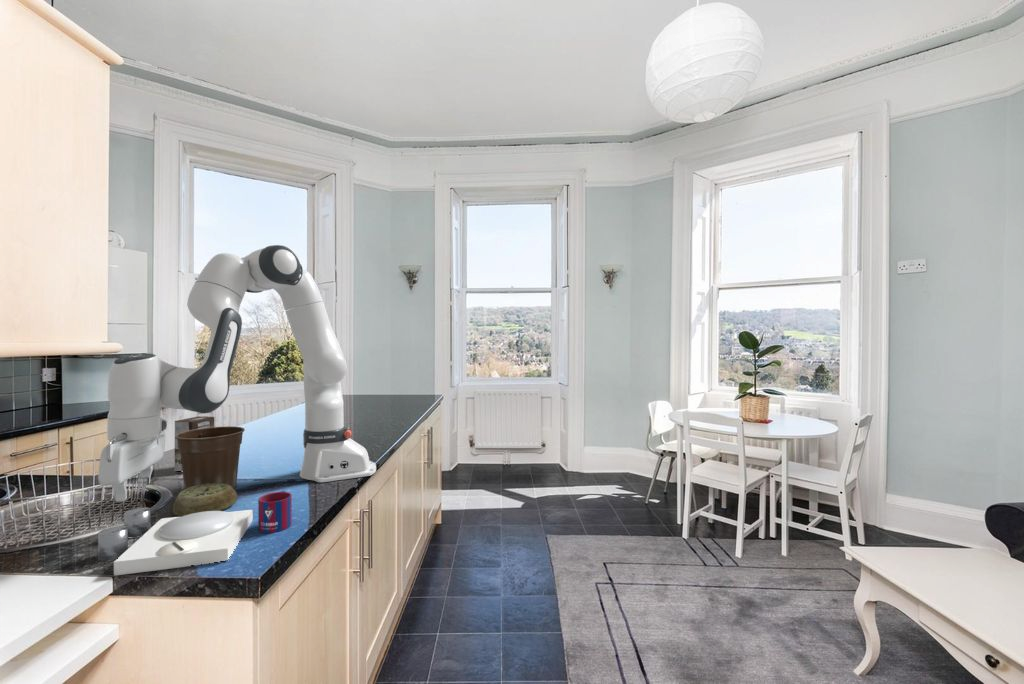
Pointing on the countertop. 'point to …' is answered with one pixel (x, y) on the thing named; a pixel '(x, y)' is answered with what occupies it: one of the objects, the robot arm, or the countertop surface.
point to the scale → (185, 541)
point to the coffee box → (186, 426)
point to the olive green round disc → (204, 498)
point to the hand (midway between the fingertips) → (133, 492)
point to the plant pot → (210, 455)
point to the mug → (275, 512)
